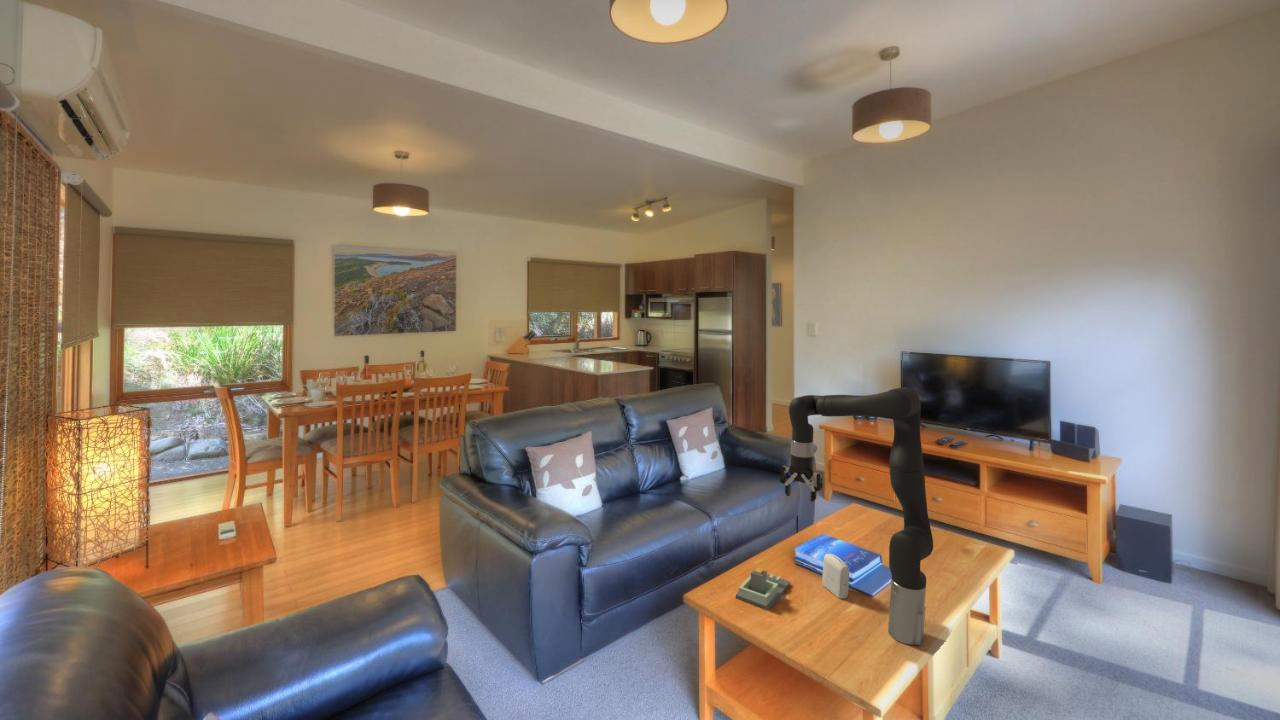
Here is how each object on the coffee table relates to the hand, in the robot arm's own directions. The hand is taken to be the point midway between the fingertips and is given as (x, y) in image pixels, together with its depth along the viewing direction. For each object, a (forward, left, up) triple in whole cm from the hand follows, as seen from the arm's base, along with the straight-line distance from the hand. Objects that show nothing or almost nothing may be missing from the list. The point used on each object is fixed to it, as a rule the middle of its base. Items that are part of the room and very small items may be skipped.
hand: (800, 498), depth 179 cm
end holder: (+8, +16, -31) cm, 35 cm away
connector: (+8, +16, -31) cm, 36 cm away
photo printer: (-12, -4, -32) cm, 35 cm away
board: (+8, +11, -32) cm, 35 cm away
